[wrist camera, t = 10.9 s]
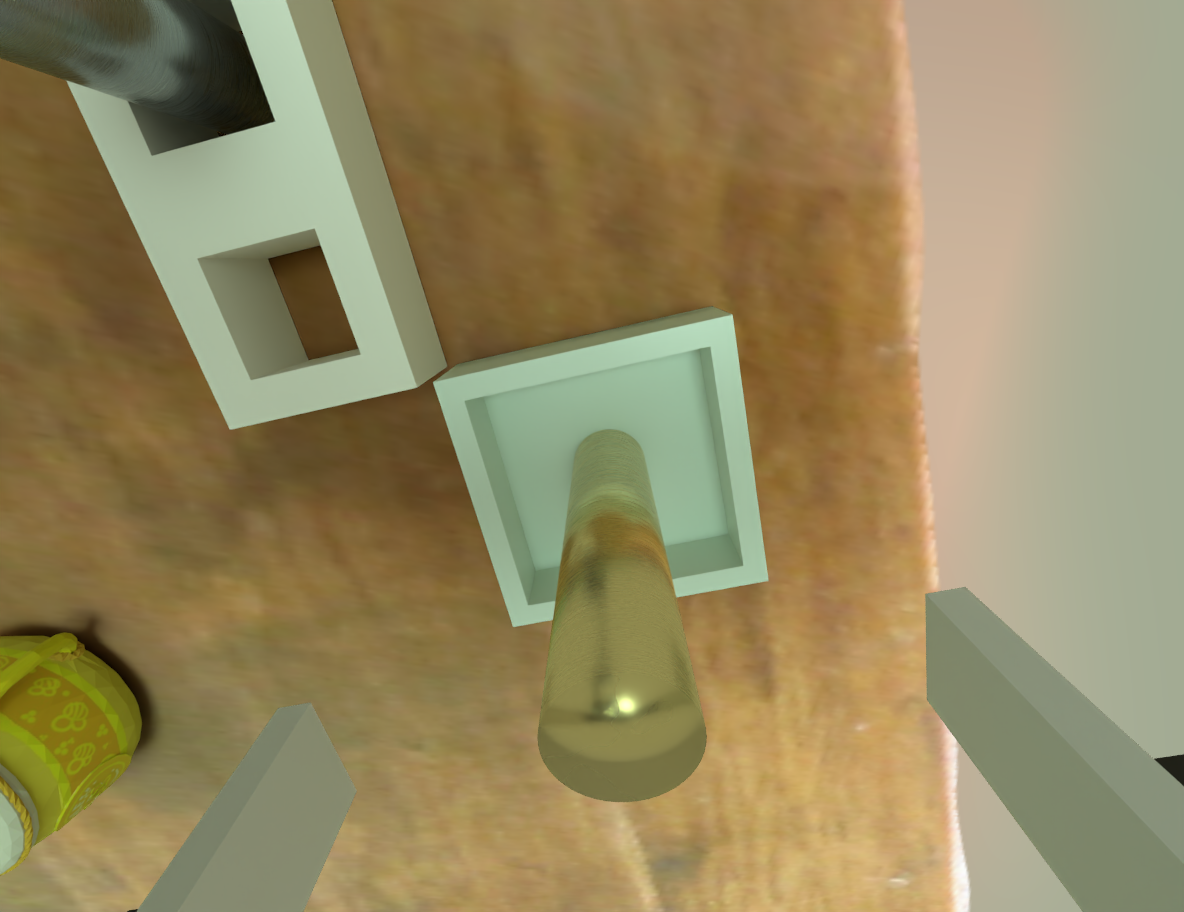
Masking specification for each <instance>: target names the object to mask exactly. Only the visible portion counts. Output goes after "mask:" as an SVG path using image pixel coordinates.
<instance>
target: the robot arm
mask: <svg viewBox="0 0 1184 912" xmlns="http://www.w3.org/2000/svg"><path fill="white" fill-rule="evenodd" d="M925 596H926V670H927V700H928V702H929V703H930V704H931V706H932V707H933V709H934V710H935V711H936V713H937V714H938V715H939V717H940V718H941V719H942V721H943V722H944V723H945V725H946V726H947V728H948V729H949V730H950V732H951V733H952V734H953V736H954V737H955V738H956V740H957V741H958V743H959V744H960V745H961V746H962V748H963V749H964V751H965V752H966V753H967V755H968V756H969V757H970V759H971V760H972V762H973V763H974V764H975V766H976V767H977V768H978V770H979V771H980V772H981V774H982V775H983V777H984V778H985V779H986V780H987V782H988V783H989V785H990V786H991V787H992V789H993V790H994V791H995V793H996V794H997V796H998V797H999V798H1000V800H1001V801H1002V802H1003V804H1004V805H1005V806H1006V808H1007V809H1008V810H1009V812H1010V813H1011V815H1012V816H1013V817H1014V819H1015V820H1016V821H1017V823H1018V824H1019V825H1020V827H1021V828H1022V830H1023V831H1024V832H1025V834H1026V835H1027V836H1028V838H1029V839H1030V840H1031V842H1032V843H1033V844H1034V846H1035V847H1036V849H1037V850H1038V851H1039V853H1040V854H1041V855H1042V857H1043V858H1044V859H1045V861H1046V862H1047V864H1048V865H1049V866H1050V868H1051V869H1052V870H1053V872H1054V873H1055V875H1056V876H1057V877H1058V879H1059V880H1060V881H1061V883H1062V884H1063V885H1064V887H1065V888H1066V889H1067V891H1068V892H1069V894H1070V895H1071V896H1072V898H1073V899H1074V900H1075V902H1076V903H1077V904H1078V906H1079V907H1080V908H1081V910H1082V911H1083V912H1184V755H1177V756H1171V757H1163V758H1157V759H1153V758H1152V757H1151V756H1150V755H1149V754H1148V753H1147V752H1146V751H1144V750H1143V749H1142V748H1141V747H1140V746H1139V745H1138V744H1137V743H1136V742H1135V741H1134V740H1132V739H1131V738H1130V737H1129V736H1128V735H1127V734H1126V733H1125V732H1124V731H1122V730H1121V729H1120V728H1119V727H1118V726H1117V725H1116V724H1115V723H1114V722H1113V721H1112V720H1111V719H1109V718H1108V717H1107V716H1106V715H1105V714H1104V713H1103V712H1102V711H1101V710H1100V709H1098V708H1097V707H1096V706H1095V705H1094V704H1093V703H1092V702H1091V701H1090V700H1089V699H1088V698H1086V697H1085V696H1084V695H1083V694H1082V693H1081V692H1080V691H1079V690H1078V689H1077V688H1075V687H1074V686H1073V685H1072V684H1071V683H1070V682H1069V681H1068V680H1067V679H1065V677H1063V676H1062V675H1061V674H1060V673H1059V672H1058V671H1057V670H1056V669H1055V668H1053V667H1052V666H1051V665H1050V664H1049V663H1048V662H1047V661H1046V660H1045V659H1044V658H1042V656H1040V655H1039V654H1038V653H1037V652H1036V651H1035V650H1034V649H1033V648H1032V647H1030V646H1029V645H1028V644H1027V643H1026V642H1025V641H1024V640H1023V639H1022V638H1021V637H1020V636H1019V635H1017V634H1016V633H1015V632H1014V631H1013V630H1012V629H1011V628H1010V627H1009V626H1008V625H1006V624H1005V623H1004V622H1003V621H1002V620H1001V619H1000V618H999V617H998V616H996V614H994V613H993V612H992V611H991V610H990V609H989V608H988V607H987V606H986V605H985V604H983V603H982V602H981V601H980V600H979V599H978V598H977V597H976V596H975V595H974V594H973V593H971V592H970V591H969V590H968V589H967V588H966V587H962V588H957V589H951V590H945V591H940V592H934V593H928V594H925ZM356 792H357V790H356V788H355V787H354V785H353V783H352V781H351V779H350V777H349V775H348V773H347V771H346V769H345V767H344V766H343V764H342V762H341V760H340V758H339V756H338V754H337V752H336V750H335V748H334V746H333V744H332V743H331V741H330V739H329V737H328V735H327V733H326V731H325V729H324V727H323V725H322V723H321V722H320V720H319V718H318V716H317V714H316V712H315V710H314V708H313V706H312V704H311V703H305V704H300V705H294V706H288V707H283V708H278V709H277V711H276V712H275V714H274V715H273V717H272V718H271V719H270V721H269V722H268V724H267V725H266V727H265V728H264V729H263V731H262V732H261V734H260V735H259V737H258V738H257V739H256V741H255V742H254V744H253V745H252V747H251V748H250V750H249V751H248V752H247V754H246V755H245V757H244V758H243V760H242V761H241V762H240V764H239V765H238V767H237V768H236V770H235V771H234V772H233V774H232V775H231V777H230V778H229V780H228V781H227V783H226V784H225V785H224V787H223V788H222V790H221V791H220V793H219V794H218V795H217V797H216V798H215V800H214V801H213V803H212V804H211V805H210V807H209V808H208V810H207V811H206V813H205V814H204V816H203V817H202V818H201V820H200V821H199V823H198V824H197V826H196V827H195V828H194V830H193V831H192V833H191V834H190V836H189V837H188V838H187V840H186V841H185V843H184V844H183V846H182V847H181V849H180V850H179V851H178V853H177V854H176V856H175V857H174V859H173V860H172V861H171V863H170V864H169V866H168V867H167V869H166V870H165V871H164V873H163V874H162V876H161V877H160V879H159V880H158V882H157V883H156V884H155V886H154V887H153V889H152V890H151V892H150V893H149V894H148V896H147V897H146V899H145V900H144V902H143V903H142V904H141V906H140V907H139V909H136V910H129V911H127V912H303V911H304V909H305V906H306V904H307V902H308V900H309V897H310V895H311V893H312V891H313V888H314V886H315V884H316V882H317V879H318V877H319V875H320V873H321V870H322V868H323V866H324V864H325V861H326V859H327V857H328V855H329V852H330V850H331V848H332V846H333V843H334V841H335V839H336V837H337V834H338V832H339V830H340V828H341V825H342V823H343V821H344V819H345V816H346V814H347V812H348V810H349V807H350V805H351V803H352V801H353V798H354V796H355V794H356Z"/></svg>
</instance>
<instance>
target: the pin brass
mask: <svg viewBox="0 0 1184 912" xmlns="http://www.w3.org/2000/svg"><path fill="white" fill-rule="evenodd" d="M706 737H707V735H706V727H705V723H704V718H703V714H702V709H701V705H700V700H699V696H698V692H697V687H696V683H695V678H694V674H693V669H692V665H691V660H690V656H689V652H688V647H687V643H686V638H685V634H684V629H683V625H682V620H681V616H680V612H679V607H678V603H677V598H676V594H675V589H674V585H673V581H672V576H671V572H670V567H669V563H668V558H667V554H666V549H665V545H664V541H663V536H662V532H661V527H660V523H659V518H658V514H657V509H656V505H655V501H654V496H653V492H652V487H651V483H650V478H649V474H648V469H647V465H646V461H645V456H644V453H643V450H642V448H641V446H640V445H639V443H638V442H637V441H636V440H635V439H634V438H633V437H632V436H630V435H629V434H627V433H625V432H622V431H619V430H613V429H606V430H600V431H597V432H595V433H592V434H591V435H589V436H588V437H586V438H585V439H584V440H583V441H582V442H581V444H580V445H579V447H578V448H577V451H576V453H575V457H574V464H573V472H572V479H571V487H570V495H569V502H568V510H567V517H566V525H565V532H564V540H563V547H562V555H561V562H560V570H559V578H558V585H557V593H556V600H555V608H554V615H553V623H552V630H551V638H550V645H549V653H548V660H547V668H546V676H545V683H544V691H543V698H542V706H541V713H540V721H539V728H538V746H539V750H540V754H541V757H542V759H543V761H544V763H545V765H546V766H547V768H548V769H549V770H550V772H551V773H552V774H553V775H554V776H555V777H556V778H557V779H558V780H559V781H560V782H561V783H563V784H564V785H566V786H567V787H568V788H570V789H572V790H574V791H576V792H578V793H580V794H582V795H585V796H588V797H591V798H594V799H598V800H604V801H611V802H632V801H640V800H645V799H650V798H653V797H656V796H659V795H661V794H664V793H666V792H668V791H670V790H672V789H674V788H675V787H677V786H678V785H680V784H681V783H682V782H684V781H685V780H686V779H687V778H688V777H689V776H690V775H691V774H692V773H693V772H694V770H695V769H696V768H697V766H698V765H699V763H700V761H701V759H702V757H703V754H704V751H705V747H706Z"/></svg>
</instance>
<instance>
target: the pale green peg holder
mask: <svg viewBox="0 0 1184 912" xmlns="http://www.w3.org/2000/svg"><path fill="white" fill-rule="evenodd" d="M188 1H190V2H191V3H193V4H194V5H196V6H198V7H199V8H201V9H202V10H204V11H206V12H207V13H209V14H210V15H212V16H213V17H215V18H217V19H218V20H220V21H221V22H223V23H225V24H226V25H228V26H229V27H231V28H233V29H234V30H236V31H237V32H239V31H242V32H243V35H244V37H245V40H246V43H247V45H248V48H249V51H250V54H251V56H252V59H253V62H254V65H255V67H256V70H257V73H258V75H259V78H260V81H261V84H262V86H263V89H264V92H265V95H266V97H267V100H268V103H269V105H270V108H271V111H272V114H273V116H274V119H275V122H272V123H269V124H265V125H261V126H258V127H254V128H251V129H247V130H243V131H240V132H236V133H233V134H229V135H225V136H222V137H219V135H218V133H217V131H216V130H213V129H210V128H207V127H204V126H201V125H198V124H195V123H192V122H189V121H186V120H183V119H180V118H177V117H174V116H171V115H168V114H165V113H162V112H159V111H156V110H153V109H150V108H147V107H144V106H141V105H138V104H135V103H132V102H129V101H126V100H123V99H120V98H117V97H114V96H111V95H108V94H105V93H102V92H99V91H96V90H93V89H90V88H88V87H85V86H82V85H79V84H76V83H73V82H70V81H67V80H66V81H67V83H68V85H69V87H70V90H71V92H72V94H73V96H74V98H75V100H76V102H77V104H78V107H79V109H80V111H81V113H82V115H83V117H84V119H85V122H86V124H87V126H88V128H89V130H90V132H91V134H92V136H93V139H94V141H95V143H96V145H97V147H98V149H99V151H100V154H101V156H102V158H103V160H104V162H105V164H106V166H107V168H108V171H109V173H110V175H111V177H112V179H113V181H114V183H115V186H116V188H117V190H118V192H119V194H120V196H121V198H122V200H123V203H124V205H125V207H126V209H127V211H128V213H129V215H130V218H131V220H132V222H133V224H134V226H135V228H136V230H137V232H138V235H139V237H140V239H141V241H142V243H143V245H144V247H145V250H146V252H147V254H148V256H149V258H150V260H151V262H152V264H153V267H154V269H155V271H156V273H157V275H158V277H159V279H160V282H161V284H162V286H163V288H164V290H165V292H166V294H167V296H168V299H169V301H170V303H171V305H172V307H173V309H174V311H175V314H176V316H177V318H178V320H179V322H180V324H181V326H182V328H183V331H184V333H185V335H186V337H187V339H188V341H189V343H190V346H191V348H192V350H193V352H194V354H195V356H196V358H197V360H198V363H199V365H200V367H201V369H202V371H203V373H204V375H205V378H206V380H207V382H208V384H209V386H210V388H211V390H212V392H213V395H214V397H215V399H216V401H217V403H218V405H219V407H220V410H221V412H222V414H223V416H224V418H225V420H226V422H227V424H228V427H229V429H230V430H231V429H236V428H240V427H245V426H249V425H254V424H258V423H262V422H267V421H271V420H276V419H280V418H285V417H289V416H294V415H298V414H302V413H307V412H311V411H316V410H320V409H325V408H329V407H334V406H338V405H342V404H347V403H351V402H356V401H360V400H365V399H369V398H373V397H378V396H382V395H387V394H391V393H396V392H400V391H405V390H409V389H413V388H417V387H419V386H420V385H422V384H423V383H425V382H426V381H427V380H429V379H430V378H432V377H433V376H435V375H436V374H437V373H439V372H440V371H442V370H443V369H445V368H446V367H447V363H446V360H445V357H444V354H443V351H442V348H441V344H440V341H439V338H438V335H437V332H436V329H435V325H434V322H433V319H432V316H431V313H430V310H429V306H428V303H427V300H426V297H425V294H424V291H423V287H422V284H421V281H420V278H419V275H418V272H417V268H416V265H415V262H414V259H413V256H412V253H411V249H410V246H409V243H408V240H407V237H406V234H405V230H404V227H403V224H402V221H401V218H400V215H399V211H398V208H397V205H396V202H395V199H394V196H393V192H392V189H391V186H390V183H389V180H388V177H387V173H386V170H385V167H384V164H383V161H382V158H381V154H380V151H379V148H378V145H377V142H376V139H375V135H374V132H373V129H372V126H371V123H370V120H369V116H368V113H367V110H366V107H365V104H364V101H363V97H362V94H361V91H360V88H359V85H358V82H357V78H356V75H355V72H354V69H353V66H352V63H351V59H350V56H349V53H348V50H347V47H346V44H345V40H344V37H343V34H342V31H341V28H340V25H339V21H338V18H337V15H336V12H335V9H334V6H333V2H332V0H188ZM320 245H321V247H322V250H323V253H324V255H325V258H326V261H327V264H328V266H329V269H330V272H331V275H332V277H333V280H334V283H335V285H336V288H337V291H338V294H339V296H340V299H341V302H342V305H343V307H344V310H345V313H346V315H347V318H348V321H349V324H350V326H351V329H352V332H353V335H354V337H355V340H356V343H357V345H358V348H359V349H355V350H351V351H346V352H342V353H338V354H333V355H329V356H325V357H321V358H316V359H312V360H308V358H307V355H306V353H305V350H304V348H303V345H302V343H301V340H300V338H299V335H298V333H297V330H296V328H295V325H294V323H293V320H292V318H291V315H290V313H289V310H288V308H287V305H286V303H285V300H284V298H283V295H282V293H281V290H280V288H279V285H278V283H277V280H276V278H275V275H274V273H273V270H272V268H271V265H270V263H269V260H268V259H269V258H273V257H277V256H281V255H284V254H288V253H292V252H296V251H300V250H304V249H308V248H312V247H316V246H320Z"/></svg>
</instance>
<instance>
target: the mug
mask: <svg viewBox="0 0 1184 912" xmlns="http://www.w3.org/2000/svg"><path fill="white" fill-rule="evenodd" d="M141 727H142V720H141V716H140V711H139V706H138V704H137V701H136V699H135V696H134V695H133V693H132V692H131V691H130V689H129V688H128V686H127V685H126V684H125V682H124V681H123V680H122V678H121V677H120V676H119V674H118V673H116V672H115V671H114V670H113V669H112V668H111V667H109V666H108V665H107V664H106V663H104V662H103V661H102V660H101V659H99V658H98V657H97V656H95V655H94V654H92V653H91V652H89V651H87V650H85V647H84V644H82V643H80V642H79V641H77V638H76V637H75V636H74V635H73V634H71V633H66V632H64V633H60V634H56V635H54V636H52V637H51V638H50V637H47V636H0V876H1V875H3V874H6V873H7V872H9V871H11V870H13V869H15V868H16V867H17V866H18V865H19V864H21V863H22V862H23V861H24V860H25V858H26V857H27V856H28V854H29V852H30V849H31V848H32V847H33V846H34V845H36V844H37V843H39V842H40V841H42V840H43V839H44V838H46V837H47V836H49V835H50V834H51V833H53V832H54V831H58V830H60V829H61V828H62V827H63V826H64V825H65V824H67V823H68V822H69V821H70V820H71V819H72V818H74V817H75V816H76V815H77V814H78V813H79V812H80V811H82V810H83V809H84V810H85V809H86V808H87V807H86V806H87V805H88V804H90V803H91V802H93V801H94V800H95V798H97V797H98V796H99V795H100V794H101V793H102V792H103V791H105V790H106V789H107V788H108V787H109V786H110V785H111V784H113V783H114V782H115V781H116V780H117V779H118V778H119V777H120V776H121V775H122V774H123V773H124V772H125V770H126V769H127V768H128V766H129V764H130V763H131V758H132V756H133V753H134V751H135V749H136V747H137V744H138V742H139V740H140V734H141ZM90 805H91V804H90ZM85 807H86V808H85Z"/></svg>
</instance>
